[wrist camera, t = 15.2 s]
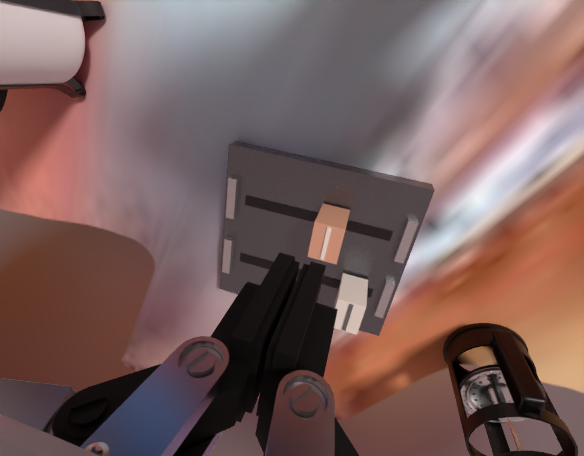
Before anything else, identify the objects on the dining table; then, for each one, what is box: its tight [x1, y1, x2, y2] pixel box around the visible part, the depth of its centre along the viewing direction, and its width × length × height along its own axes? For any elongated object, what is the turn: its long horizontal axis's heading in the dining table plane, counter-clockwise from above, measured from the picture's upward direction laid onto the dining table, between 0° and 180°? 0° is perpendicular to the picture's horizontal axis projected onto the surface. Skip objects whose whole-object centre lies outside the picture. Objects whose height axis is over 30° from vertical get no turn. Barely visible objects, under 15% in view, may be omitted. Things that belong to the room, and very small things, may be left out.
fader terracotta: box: [307, 204, 350, 264], centre depth 33 cm, size 4×3×5 cm
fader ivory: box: [334, 273, 368, 335], centre depth 36 cm, size 4×3×5 cm
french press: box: [443, 323, 578, 456], centre depth 30 cm, size 12×9×23 cm
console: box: [220, 141, 434, 336], centre depth 38 cm, size 20×22×3 cm
